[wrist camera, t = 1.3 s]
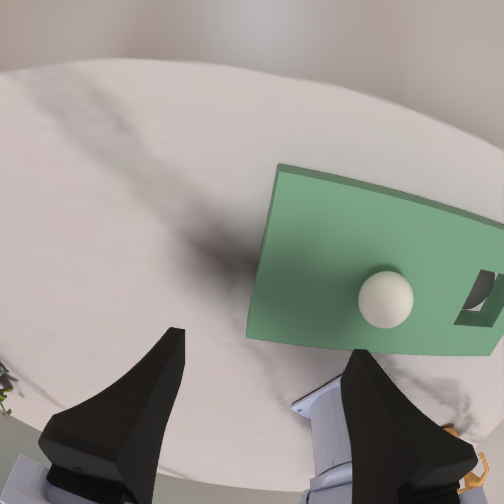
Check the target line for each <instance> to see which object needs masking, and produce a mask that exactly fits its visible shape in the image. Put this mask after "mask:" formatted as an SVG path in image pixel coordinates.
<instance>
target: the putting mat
mask: <svg viewBox="0 0 504 504" xmlns="http://www.w3.org/2000/svg"><path fill="white" fill-rule="evenodd" d="M382 271H392V272H396V273H398V274H400V275H402V276H403V277H404V278H405V279H406V280H407V281H408V282H409V284H410V286H411V288H412V291H413V296H414V302H413V307H412V310H411V312H410V314H409V316H408V317H407V318H406V320H405V321H403V322H402V323H401V324H399V325H398V326H395V327H393V328H385V329H384V328H378V327H375V326H373V325H371V324H370V323H369V322H367V321H366V320H365V318H364V317H363V316H362V314H361V312H360V309H359V303H358V298H359V292H360V290H361V287H362V285H363V284H364V282H365V281H366V280H367V279H368V278H369V277H370V276H372V275H374V274H376V273H378V272H382ZM494 272H496V273H499V274H498V276H497V279H496V281H495V283H494V280H495V273H494ZM493 284H494V285H493ZM487 296H488V297H487ZM486 297H487V299H486V301H485V303H484V305H483V307H482V309H481V311H480V312H476V311H467V310H461V309H471V308H474V307H476V306H477V305H479V304H480V303H481V302H483V301H484V300H485V298H486ZM503 334H504V224H501V223H498V222H495V221H493V220H490V219H487V218H484V217H481V216H478V215H476V214H473V213H470V212H467V211H464V210H461V209H458V208H454V207H451V206H448V205H445V204H442V203H438V202H435V201H432V200H429V199H425V198H422V197H418V196H415V195H411V194H408V193H404V192H401V191H397V190H393V189H389V188H386V187H382V186H378V185H374V184H370V183H366V182H362V181H358V180H354V179H350V178H345V177H341V176H337V175H332V174H328V173H323V172H318V171H314V170H309V169H304V168H299V167H294V166H289V165H284V164H278V166H277V171H276V177H275V182H274V187H273V192H272V197H271V202H270V207H269V213H268V218H267V223H266V228H265V233H264V238H263V243H262V248H261V253H260V258H259V263H258V268H257V273H256V278H255V283H254V288H253V293H252V298H251V303H250V308H249V313H248V319H247V330H246V338H250V339H256V340H263V341H270V342H278V343H285V344H293V345H301V346H310V347H319V348H328V349H338V350H349V351H353V350H354V349H367V350H368V351H369V352H374V353H389V354H407V355H433V356H490V354H491V353H492V351H493V350H494V348H495V347H496V345H497V344H498V342H499V340H500V339H501V337H502V336H503Z"/></svg>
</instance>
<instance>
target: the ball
mask: <svg viewBox="0 0 504 504" xmlns="http://www.w3.org/2000/svg"><path fill="white" fill-rule="evenodd" d="M413 302H414V296H413V291H412V288H411V286H410V284H409V282H408V281H407V280H406V279H405V278H404V277H403V276H402V275H400V274H398V273H396V272H392V271H382V272H378V273H376V274H374V275H372V276H370V277H369V278H368V279H367V280H366V281H365V282H364V284H363V285H362V287H361V290H360V292H359V298H358V303H359V309H360V312H361V314H362V316H363V317H364V318H365V320H366V321H367V322H369V323H370V324H371V325H373V326H375V327H378V328H384V329H385V328H393V327H395V326H398V325H399V324H401V323H402V322H403V321H405V320H406V318H407V317H408V316H409V314H410V312H411V310H412V307H413Z"/></svg>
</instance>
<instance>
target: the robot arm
mask: <svg viewBox="0 0 504 504" xmlns="http://www.w3.org/2000/svg"><path fill="white" fill-rule="evenodd" d="M184 366H185V329H179V328H174V327H170V328H169V329H168V330H167V331H166V332H165V334H164V335H163V336H162V337H161V339H160V340H159V341H158V342H157V343H156V344H155V346H154V347H153V348H152V349H151V350H150V351H149V352H148V353H147V354H146V355H145V356H144V357H143V358H142V359H141V360H140V361H139V362H138V363H137V364H136V365H135V366H134V367H133V368H132V369H131V370H129V371H128V372H127V373H126V374H125V375H124V376H122V377H121V378H120V379H119V380H117V381H116V382H115V383H113V384H112V385H111V386H109V387H108V388H106V389H105V390H103V391H102V392H100V393H99V394H97V395H95V396H94V397H92V398H90V399H88V400H86V401H84V402H82V403H80V404H79V405H77V406H74V407H72V408H70V409H67V410H65V411H62V412H60V413H57V414H55V415H53V416H52V417H51V419H50V420H49V421H48V423H47V425H46V426H45V428H44V430H43V432H42V434H41V436H40V438H39V440H38V444H39V446H40V448H41V450H42V451H43V453H44V454H45V455H46V456H47V458H48V459H49V460H50V461H51V463H52V466H51V468H50V470H49V469H48V468H47V467H45V466H43V465H42V464H40V463H38V462H36V461H34V460H32V459H30V458H28V457H26V456H24V455H19V457H18V459H17V461H16V463H15V465H14V467H13V469H12V471H11V474H10V476H9V478H8V480H7V483H6V485H5V487H4V489H3V491H2V494H1V496H0V502H1V503H2V504H152V497H153V490H154V483H155V477H156V471H157V466H158V460H159V455H160V450H161V445H162V441H163V436H164V432H165V428H166V425H167V422H168V419H169V416H170V413H171V410H172V407H173V404H174V402H175V399H176V396H177V393H178V390H179V387H180V384H181V380H182V375H183V371H184ZM292 410H293V411H295V412H297V413H298V414H300V415H302V416H304V417H305V418H307V419H309V420H311V429H312V440H313V451H314V463H315V476H316V478H312V479H310V489H306V490H304V491H303V493H302V494H301V497H300V498H299V499H298V501H297V504H487V500H486V497H485V494H484V491H483V487H482V486H479V487H476V488H473V489H470V490H467V491H465V492H462V493H460V494H459V495H458V492H457V489H459V488H460V484H459V480H460V479H462V478H463V477H464V476H466V475H467V474H468V473H469V472H470V471H471V470H472V469H473V468H474V467H475V466H476V465H477V463H478V458H477V456H476V453H475V451H474V448H473V446H472V445H471V444H469V443H467V442H465V441H463V440H461V439H459V438H458V437H456V436H454V435H452V434H451V433H449V432H448V431H446V430H444V429H443V428H441V427H440V426H439V425H437V424H436V423H435V422H433V421H432V420H431V419H429V418H428V417H427V416H426V415H424V414H423V413H422V412H421V411H420V410H419V409H418V408H417V407H416V406H415V405H413V404H412V403H411V402H410V401H409V400H408V399H407V397H406V396H405V395H404V394H403V393H402V392H401V391H400V390H399V389H398V388H397V386H396V385H395V384H394V383H393V382H392V380H391V379H390V378H389V377H388V375H387V374H386V373H385V372H384V370H383V369H382V368H381V367H380V365H379V364H378V363H377V361H376V360H375V359H374V358H373V356H372V355H371V354H370V353H369V351H368V350H367V349H354V350H353V353H352V355H351V357H350V359H349V362H348V364H347V366H346V368H345V370H344V373H343V375H342V376H340V377H338V378H337V379H335V380H334V381H332V382H330V383H329V384H327V385H325V386H324V387H322V388H320V389H319V390H317V391H315V392H314V393H312V394H310V395H309V396H307V397H305V398H303V399H302V400H300V401H298V402H296V403H294V404H293V405H292Z"/></svg>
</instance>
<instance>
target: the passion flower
mask: <svg viewBox="0 0 504 504" xmlns="http://www.w3.org/2000/svg"><path fill="white" fill-rule="evenodd" d="M6 372H9V371H2V372H0V377H1V376H2V375H3V374H4V373H6ZM11 389H12V387H10V388H6V389H0V405H1V406H2V408H3V411H4V413H3V416H4V417H5V418H6V417H7V416H8V415H9V414H11V409H9V410H8V411H7V412H6V411H5V409H4V407H3V405H2V403H1V402H2V401H3V400H5V398H7V396H6V395H3V393H4V392H8V391H10V390H11Z"/></svg>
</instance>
